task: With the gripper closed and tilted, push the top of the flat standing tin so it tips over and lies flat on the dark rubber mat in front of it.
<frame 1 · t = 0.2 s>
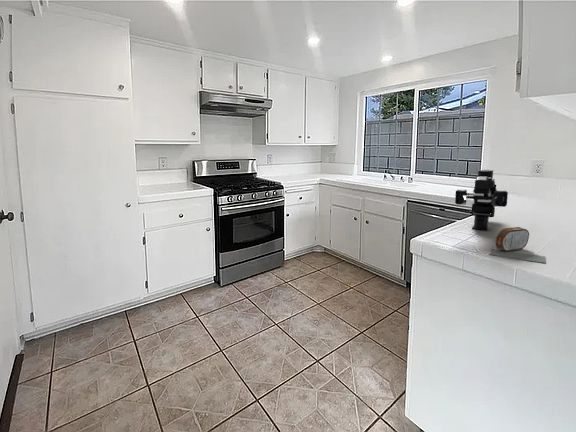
hand: (477, 201, 129), 17 cm above the countertop, tool horizontal, fingers open, 9 cm apart
tin: (511, 250, 122), on the countertop, touching mat
mat: (516, 256, 115), on the countertop
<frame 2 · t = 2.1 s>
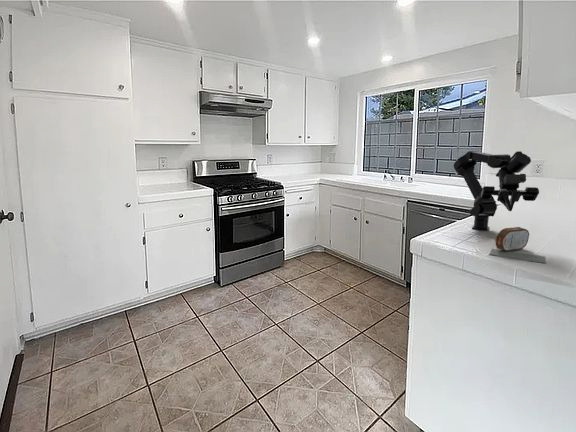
hand: (510, 210, 126), 14 cm above the countertop, tool tilted 45°, fingers closed
nothing on the countertop moved.
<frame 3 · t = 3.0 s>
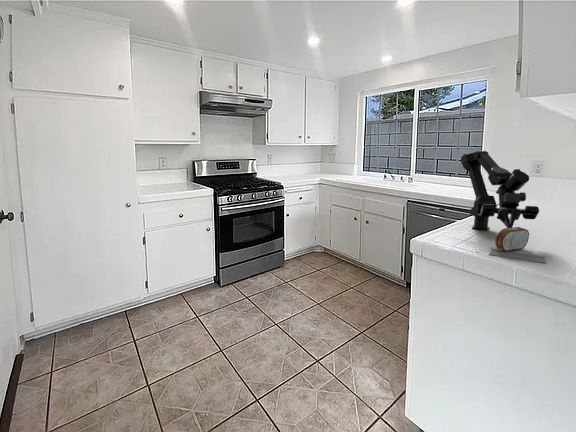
hand: (510, 229, 125), 7 cm above the countertop, tool tilted 45°, fingers closed
nothing on the countertop moved.
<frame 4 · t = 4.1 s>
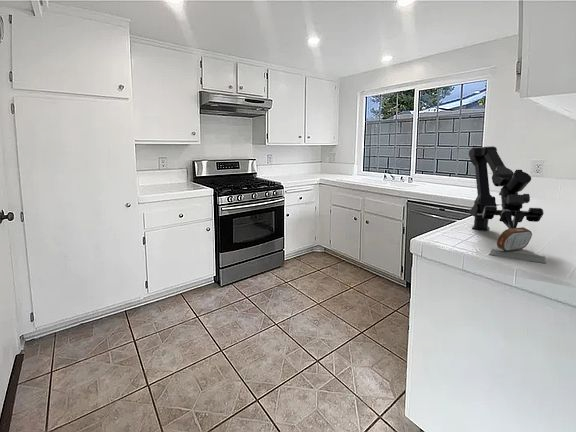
hand: (513, 232, 121), 7 cm above the countertop, tool tilted 45°, fingers closed
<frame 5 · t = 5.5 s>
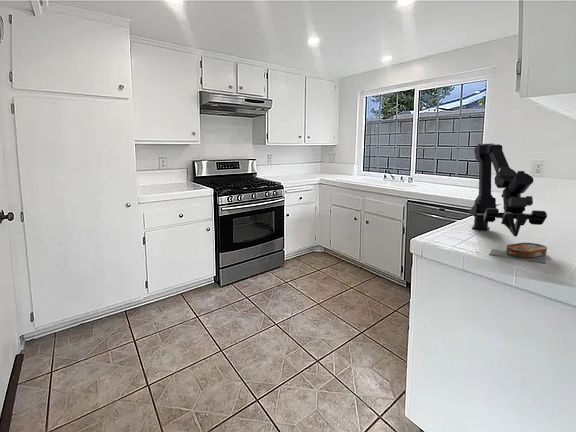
hand: (515, 235, 117), 7 cm above the countertop, tool tilted 45°, fingers closed
tin: (514, 247, 121), point 1 cm above the countertop, touching mat
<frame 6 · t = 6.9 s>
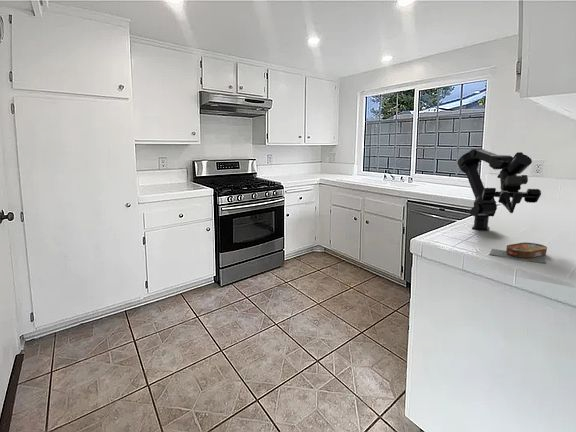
hand: (511, 212, 125), 13 cm above the countertop, tool tilted 45°, fingers closed
nothing on the countertop moved.
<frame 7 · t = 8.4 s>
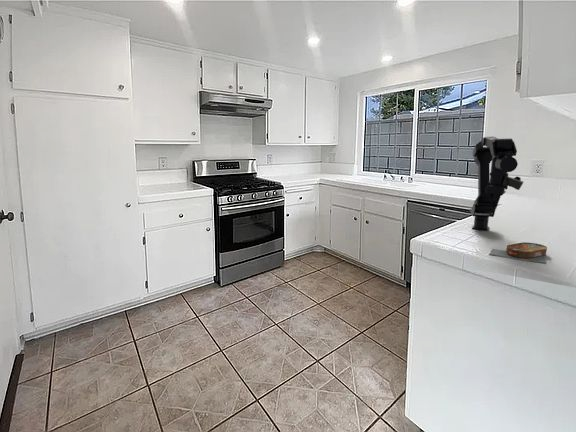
hand: (494, 208, 134), 13 cm above the countertop, tool pointing down, fingers closed
nothing on the countertop moved.
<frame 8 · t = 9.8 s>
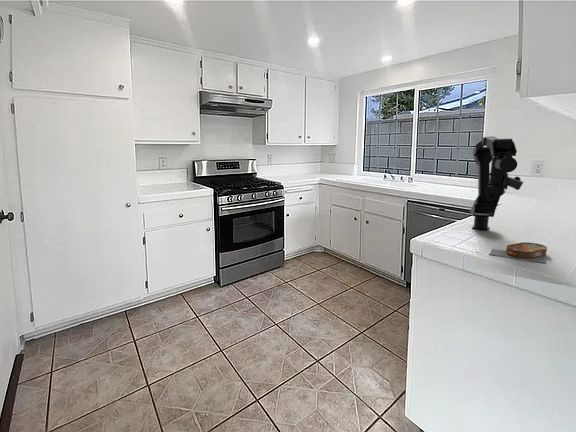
hand: (494, 208, 134), 13 cm above the countertop, tool pointing down, fingers closed
nothing on the countertop moved.
at the end: tin tilted 86°; tin touching mat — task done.
